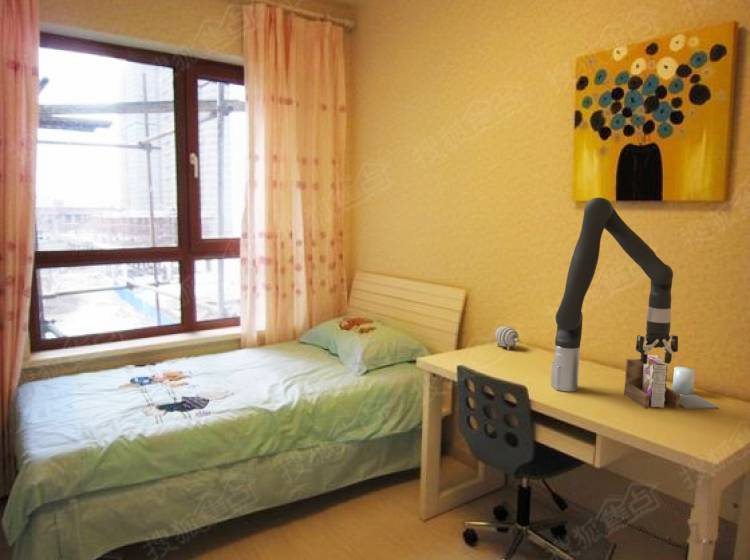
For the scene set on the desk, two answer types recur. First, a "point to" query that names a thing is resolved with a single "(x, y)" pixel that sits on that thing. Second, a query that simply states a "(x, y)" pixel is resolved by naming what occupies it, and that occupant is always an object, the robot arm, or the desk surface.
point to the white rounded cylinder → (683, 380)
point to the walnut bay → (635, 386)
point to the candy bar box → (655, 380)
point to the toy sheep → (506, 337)
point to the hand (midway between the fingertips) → (655, 363)
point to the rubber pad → (695, 402)
